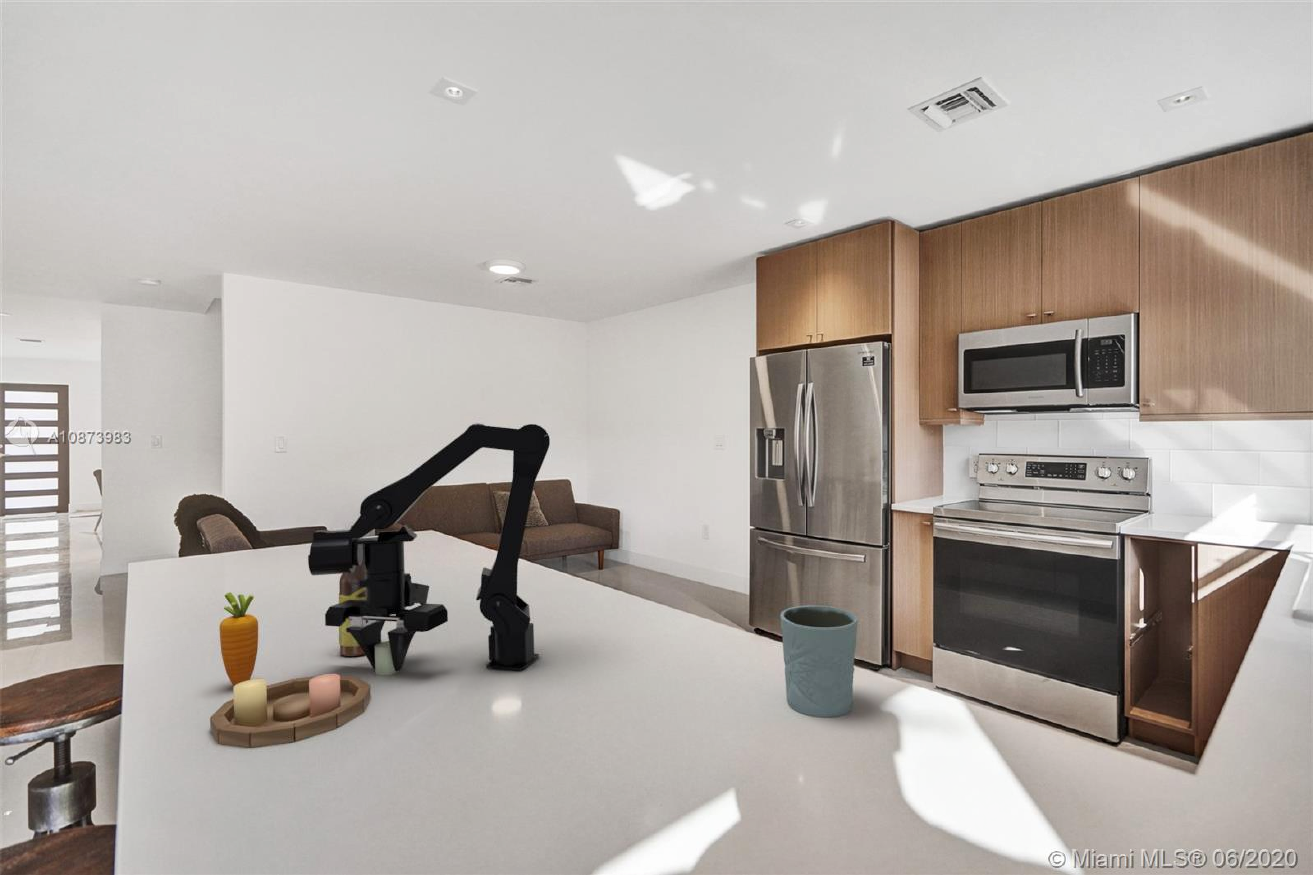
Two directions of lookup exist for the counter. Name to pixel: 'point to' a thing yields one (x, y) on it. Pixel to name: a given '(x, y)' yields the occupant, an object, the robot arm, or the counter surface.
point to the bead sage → (383, 659)
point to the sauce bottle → (351, 591)
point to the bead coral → (324, 694)
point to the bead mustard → (250, 703)
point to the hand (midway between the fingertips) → (387, 669)
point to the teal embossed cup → (819, 659)
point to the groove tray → (294, 728)
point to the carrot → (239, 640)
